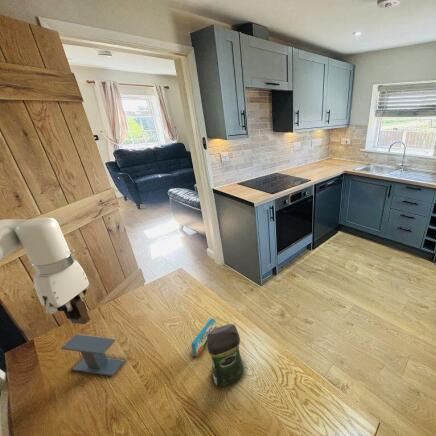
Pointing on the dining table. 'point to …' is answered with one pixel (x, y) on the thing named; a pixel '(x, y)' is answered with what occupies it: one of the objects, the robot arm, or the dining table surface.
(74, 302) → the domino
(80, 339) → the pedestal
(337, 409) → the dining table surface
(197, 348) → the turquoise printed box
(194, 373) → the dining table surface
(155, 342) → the dining table surface
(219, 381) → the coffee jar
